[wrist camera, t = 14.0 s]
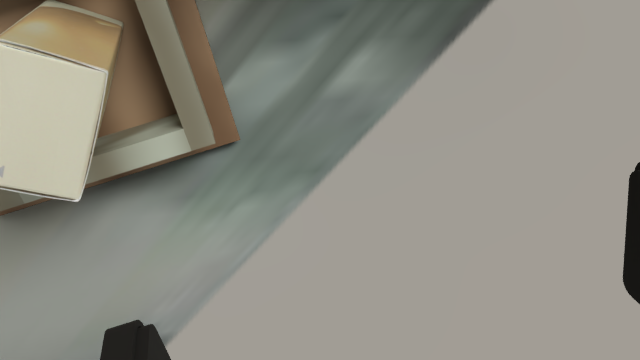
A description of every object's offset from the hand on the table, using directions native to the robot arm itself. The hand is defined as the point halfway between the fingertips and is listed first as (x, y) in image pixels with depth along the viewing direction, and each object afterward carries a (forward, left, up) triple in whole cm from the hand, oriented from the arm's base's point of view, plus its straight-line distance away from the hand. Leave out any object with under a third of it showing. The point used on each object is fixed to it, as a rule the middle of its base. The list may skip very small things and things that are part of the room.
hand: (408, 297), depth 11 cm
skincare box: (+9, -1, -28) cm, 29 cm away
